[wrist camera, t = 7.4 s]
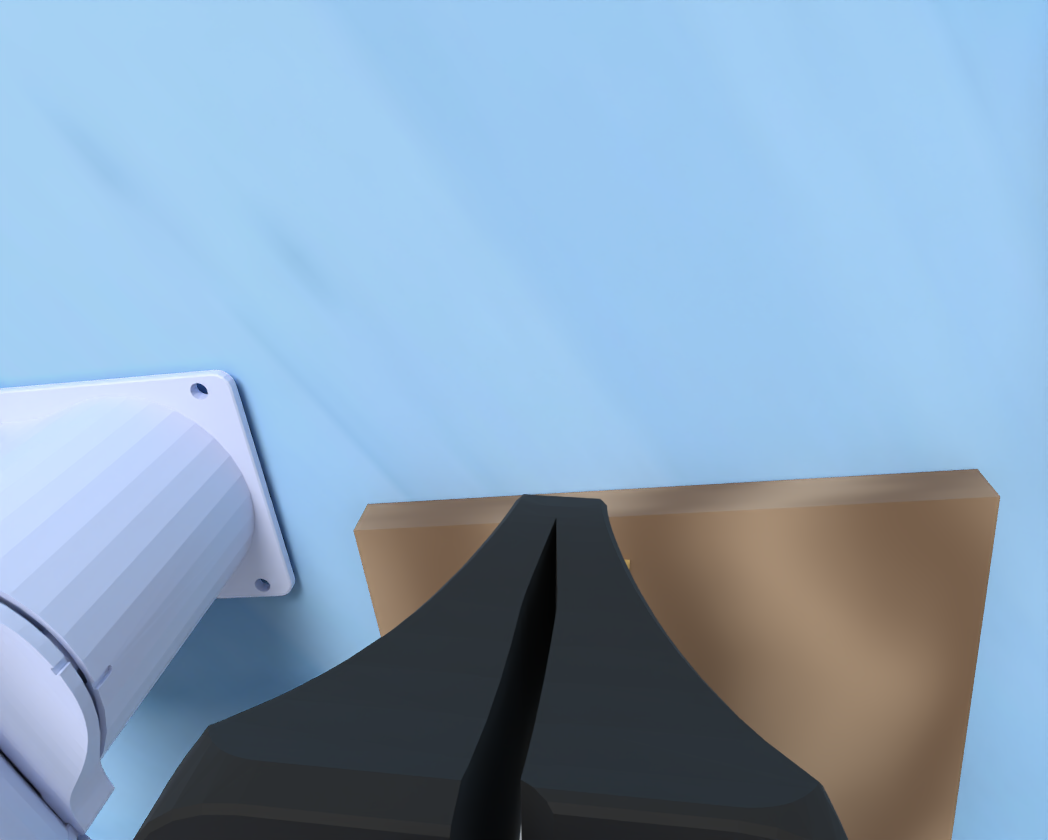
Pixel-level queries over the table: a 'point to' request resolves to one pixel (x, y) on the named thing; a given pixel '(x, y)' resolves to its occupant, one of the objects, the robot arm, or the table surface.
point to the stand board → (784, 614)
